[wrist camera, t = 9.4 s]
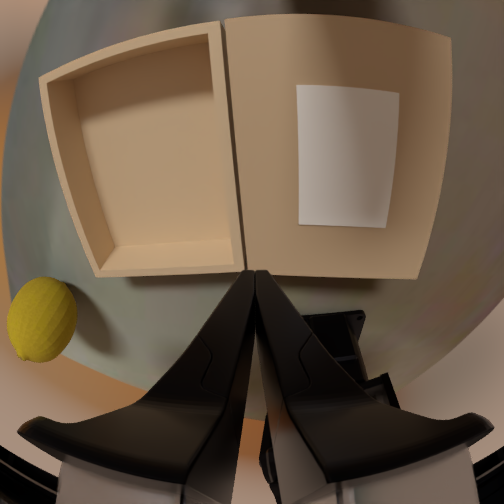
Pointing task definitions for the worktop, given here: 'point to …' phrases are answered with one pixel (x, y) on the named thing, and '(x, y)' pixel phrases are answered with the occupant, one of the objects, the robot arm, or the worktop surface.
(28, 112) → the worktop surface
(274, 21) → the lid
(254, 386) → the worktop surface
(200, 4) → the worktop surface
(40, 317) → the lemon
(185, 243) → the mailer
